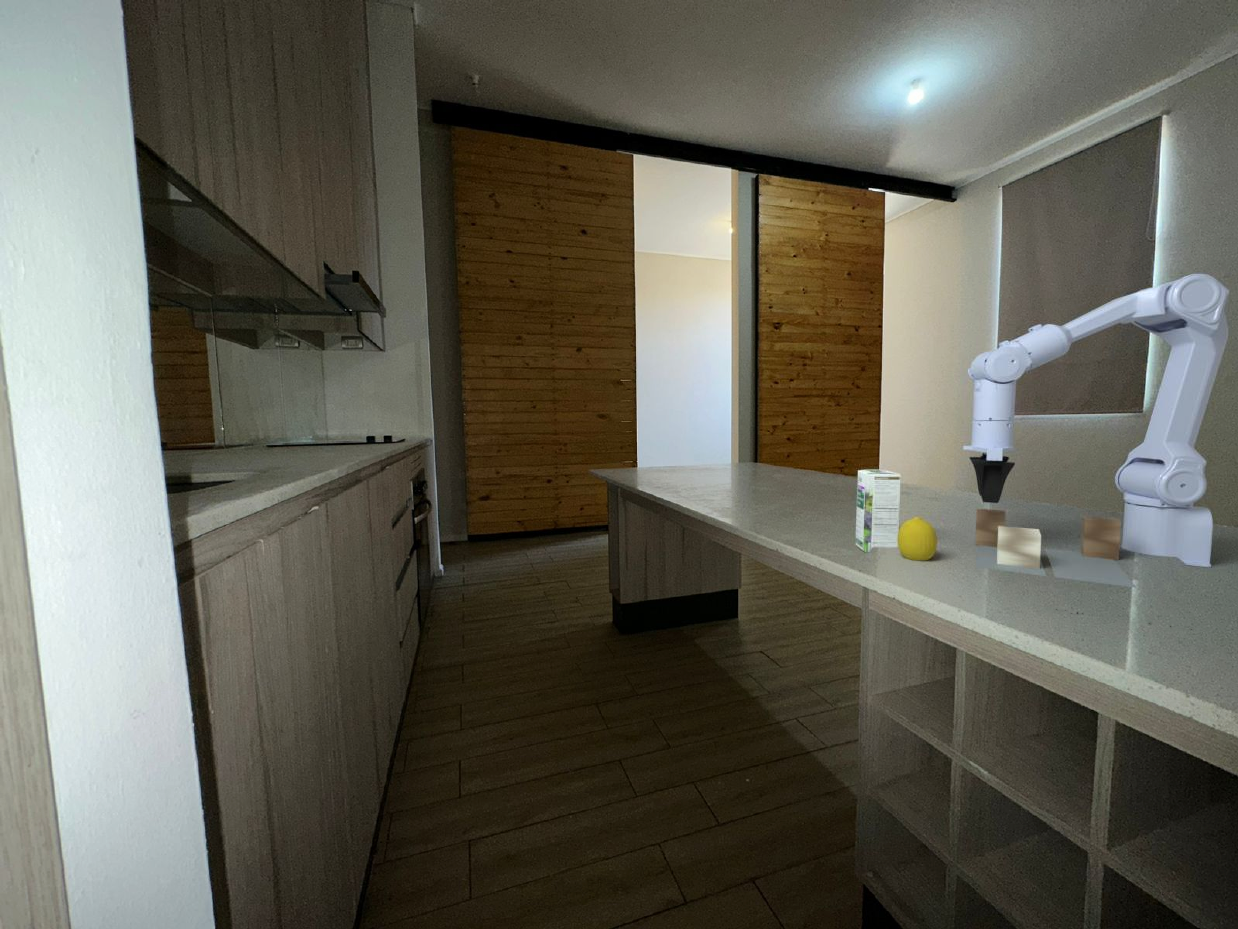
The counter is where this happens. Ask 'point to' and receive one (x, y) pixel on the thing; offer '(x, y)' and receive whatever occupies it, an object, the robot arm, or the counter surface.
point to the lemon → (917, 540)
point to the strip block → (994, 543)
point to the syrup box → (877, 509)
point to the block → (1019, 547)
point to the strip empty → (1092, 554)
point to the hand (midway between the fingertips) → (988, 499)
